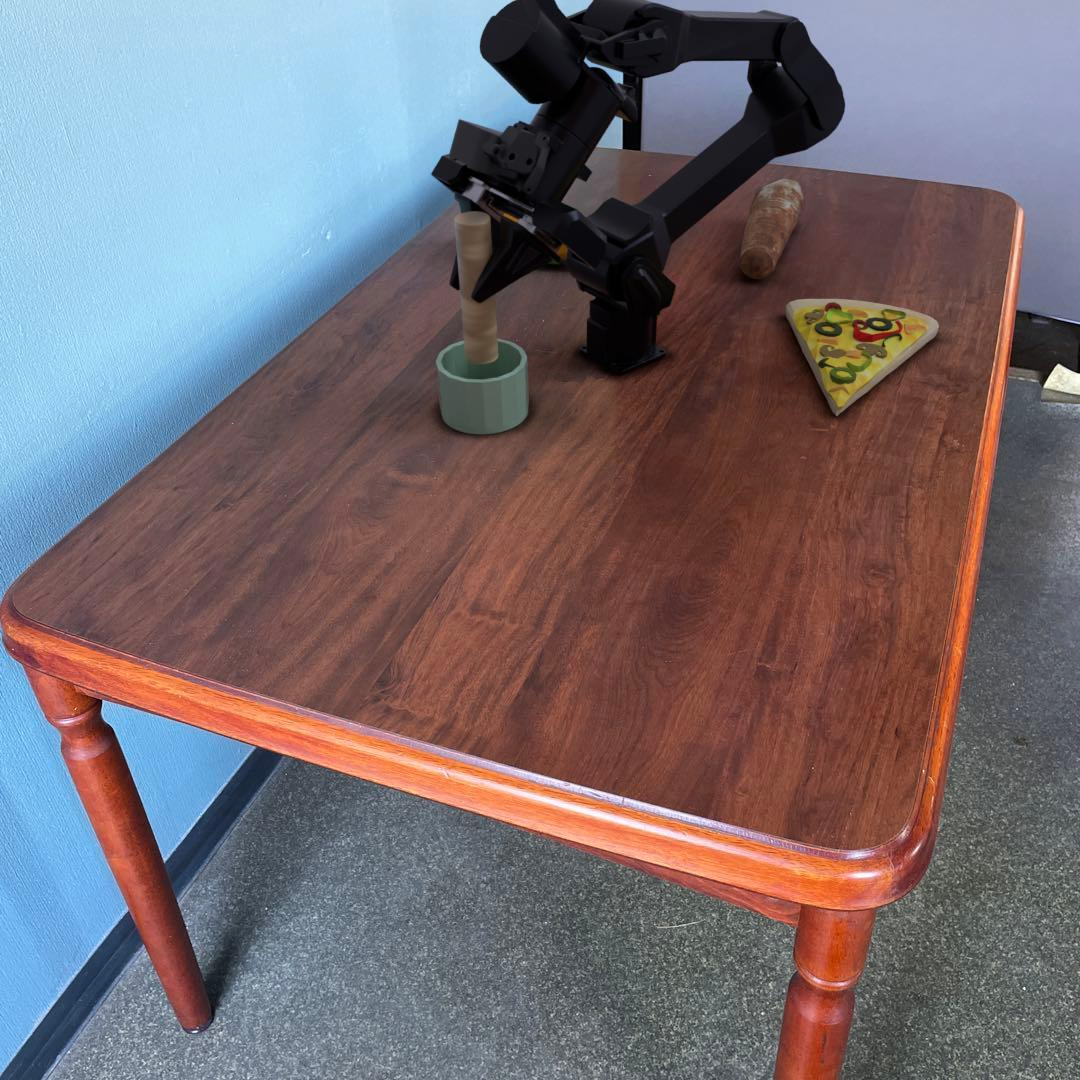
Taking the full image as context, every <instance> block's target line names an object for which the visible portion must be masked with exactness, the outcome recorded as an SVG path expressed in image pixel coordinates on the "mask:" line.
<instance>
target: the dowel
mask: <svg viewBox="0 0 1080 1080" xmlns="http://www.w3.org/2000/svg"><path fill="white" fill-rule="evenodd" d="M453 222H454V234H455V245H456V246H455V247H456V253H457V260H458V272H459V285H460V290H459V295H460V297H459V298H460V308H461V320H462V332H463V340H464V347H465V358H466V360H467V361H468V362H470V363H473V364H488V363H491V362H493V361H495V360H496V359H497V358H498V341H497V338H498V326H497V325H498V324H497V311H496V310H497V308H496V294H495V295H493V296H492V297H490V298H488V299H487V300H485V301H484V302H482V303H477V302H476V301H474V300H473V299H472V298H471V294H472V292H473V290H474V287H475V285H476V283H477V281H478V279H479V277H480V275H481V273H482V272H483V270H484V268H485V266H486V264H487V263H488V261H489V259H490V257H491V255H492V239H491V222H490V216H489V215H488V214H486V213H484V212H478V211H470V212H464V213H461V212H460V213H459V214H457V215H455V217H454V219H453Z"/></svg>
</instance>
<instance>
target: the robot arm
mask: <svg viewBox="0 0 1080 1080" xmlns="http://www.w3.org/2000/svg"><path fill="white" fill-rule="evenodd" d="M479 53H480V55H481V57H482V59H483V60H484V61H485V62H486V63H487V64H488V65H489V66H490V67H491V68H493V70H495V71H496V73H497V74H498V75H500V76H501V78H502V79H504V80H505V82H507V84H508V85H510V87H512V89H514V91H516V93H517V94H519V95H520V96H521V97H522V98H523V99H524V100H525V102H527V103H528V104H531V105H540V107H539V108H538V110H537V111H536V112H535V115H534V116H533V118H532V119H531V121H530V122H529V123H527V122H524V121H522V120H518V121H517V122H515V123H514V124H513V125H507V127H506V128H505V129H504V130H503V131H499V130H496V129H494V128H490V127H488V126H484V125H481V124H477V123H474V122H470V121H467V120H464V119H461V118H459V119H458V120H457V124H456V127H455V132H454V135H453V139H452V142H451V145H450V149H449V153H447V154H443V155H441V157H440V158H439V160H438V161H437V162H436V164H435V166H434V167H433V170H432V171H431V173H430V175H431V176H432V177H433V178H434V179H435V180H437V181H438V182H439V183H440V184H441V185H443V186H444V187H445V188H447V190H449V191H450V192H451V193H452V194H453V198H454V201H456V202H457V203H458V206H459V211H460V214H461V213H464V212H470V211H478V212H484V213H486V214H488V215H489V216H490V222H491V239H492V255H491V257H490V259H489V261H488V263H487V264H486V266H485V268H484V270H483V272H482V273H481V275H480V277H479V279H478V281H477V283H476V285H475V287H474V290H473V292H472V294H471V298H472V299H473V300H474V301H476V302H477V303H482V302H484V301H485V300H487V299H488V298H490V297H492V296H493V295H495V296H496V295H497V294H498V293H500V292H501V291H502V290H504V289H506V288H507V287H509V286H510V285H512V284H514V283H515V282H517V281H519V280H520V279H522V278H523V277H525V276H527V275H529V274H531V273H533V272H534V271H537V270H538V269H540V268H542V267H544V266H546V265H547V264H548V263H549V262H551V261H555V262H557V263H559V262H560V261H561V260H562V259H561V257H560V256H559V255H557V252H558V250H559V249H560V247H561V246H562V244H564V245H565V246H566V247H567V248H568V251H567V258H566V259H565V262H566V268H567V271H568V272H569V274H570V276H571V277H572V278H573V279H575V282H576V285H577V288H578V290H579V291H581V292H583V293H587V294H588V295H590V296H592V297H594V299H591V300H589V317H587V319H586V344H583V345H580V346H579V350H578V351H579V353H580V354H581V355H583V356H585V357H587V358H589V360H591V361H593V362H595V363H597V364H598V365H600V366H602V367H603V368H605V369H607V370H608V371H610V372H612V373H614V374H615V375H618V376H619V375H620V376H622V375H624V374H627V373H629V372H632V371H634V370H636V369H639V368H641V367H644V366H647V365H649V364H651V363H653V362H655V361H658V360H660V359H662V358H665V357H666V356H667V350H666V349H664V348H662V347H660V346H659V345H657V332H658V331H657V329H658V316H660V314H661V312H662V311H663V310H665V309H666V308H669V307H670V306H671V305H672V302H673V298H674V295H675V291H676V288H677V285H676V284H675V283H674V282H673V281H672V280H671V279H670V278H669V277H668V276H667V275H666V274H665V273H664V272H663V271H664V270H665V268H666V265H667V261H668V257H669V254H670V251H671V249H672V248H671V247H672V245H673V244H674V243H675V242H676V241H677V240H678V239H679V238H681V237H682V236H683V235H684V234H686V233H687V232H688V231H689V230H690V229H692V228H693V227H694V226H695V225H696V224H697V223H699V222H700V221H701V220H702V219H703V218H704V217H706V216H707V215H708V214H709V213H711V211H713V210H714V209H715V208H717V206H719V205H720V204H721V203H722V202H724V201H725V200H726V199H727V198H728V197H729V196H731V195H732V194H734V192H736V190H738V189H740V187H742V186H743V185H744V184H745V183H746V182H747V181H748V180H750V179H751V178H752V177H754V176H755V175H756V174H757V173H758V172H760V171H761V170H762V169H763V168H765V166H766V165H768V164H769V163H770V162H772V161H773V160H774V159H776V158H781V157H785V156H789V155H792V154H793V155H794V154H797V153H802V152H804V151H807V150H809V149H810V148H812V147H814V146H816V145H817V144H819V143H821V142H822V141H824V140H826V139H827V138H829V137H830V136H831V135H832V134H833V133H834V132H835V131H836V130H837V128H838V127H839V125H840V123H841V122H842V121H843V117H844V115H845V111H846V99H845V97H844V91H843V86H842V85H841V83H840V82H839V80H838V76H837V74H836V72H835V71H836V70H835V69H834V68H833V66H831V64H830V63H829V61H828V60H827V59H826V58H825V56H824V55H823V54H822V53H821V52H820V51H819V49H818V48H817V47H816V46H815V44H814V43H813V42H812V41H811V38H810V35H809V31H808V29H807V27H806V25H805V24H804V22H802V21H801V20H800V19H799V17H796V16H793V15H789V14H784V13H780V12H776V11H772V10H768V9H762V10H759V11H756V12H753V11H749V12H748V11H746V12H745V11H720V10H719V11H718V10H717V11H716V10H715V11H714V10H688V9H687V10H686V9H685V10H684V9H677V8H675V7H671V6H668V5H665V4H662V3H658V2H654V1H651V0H592V1H591V3H589V5H588V6H587V8H585V9H582V10H580V11H577V12H575V13H572V14H570V15H568V16H566V15H565V13H564V12H562V10H561V9H560V8H559V6H558V4H557V2H556V0H512V1H510V2H509V3H507V4H506V5H505V6H503V7H502V8H501V9H500V10H499V11H498V12H496V14H494V15H492V16H490V18H489V20H488V21H487V22H486V24H485V27H484V29H483V30H482V32H481V36H480V39H479ZM585 60H586V61H588V62H590V63H591V64H594V65H597V66H589V65H588V63H586V61H585ZM690 62H748V67H747V74H746V81H747V82H748V85H749V87H750V90H751V92H750V94H748V97H747V100H746V103H745V107H744V110H743V114H742V117H741V119H739V121H738V122H736V123H735V124H734V125H733V126H731V127H730V128H729V129H728V130H727V131H725V132H724V133H723V134H721V135H720V136H719V137H718V138H716V139H715V140H714V141H713V142H711V144H710V145H708V146H707V147H706V148H704V149H703V150H702V151H701V152H699V153H698V154H697V155H696V156H695V157H693V158H692V159H691V160H690V161H689V162H688V163H686V164H685V165H684V166H683V167H681V168H680V169H679V170H678V171H677V172H675V173H674V174H673V175H672V176H671V177H669V178H668V179H667V180H666V181H664V182H663V183H662V184H660V185H659V186H658V187H656V189H654V190H653V191H651V193H650V194H648V195H647V196H646V197H645V198H643V199H642V200H641V201H640V202H637V203H635V204H629V203H628V202H626V201H623V200H622V199H621V200H620V199H619V198H616V197H614V196H612V197H611V196H610V198H608V199H606V200H605V201H603V202H602V203H601V204H600V205H599V206H598V207H597V209H596V210H595V211H593V212H592V213H591V214H589V215H587V216H585V215H584V214H583V213H582V212H581V211H579V209H578V208H576V207H573V206H571V205H569V204H567V203H565V202H563V200H564V199H565V197H566V196H567V195H568V192H569V191H570V189H571V188H572V186H573V184H574V183H575V181H576V180H577V179H578V180H579V181H582V182H585V183H587V182H588V180H589V179H590V177H591V175H592V174H593V171H592V170H591V169H590V168H589V167H588V165H586V164H587V162H588V160H589V159H590V158H591V156H592V154H593V153H594V151H595V150H596V148H597V146H598V145H599V143H600V142H601V140H602V138H603V136H604V135H605V133H606V132H607V131H608V129H609V127H610V126H611V124H612V122H614V119H615V118H619V119H622V120H625V121H626V122H630V123H636V121H637V120H638V107H637V104H636V100H635V94H636V90H635V88H634V87H633V86H630V85H627V84H624V83H621V82H616V81H615V80H614V79H613V78H612V76H611V75H610V74H609V73H608V72H607V71H606V70H605V69H603V68H607V69H610V70H613V71H616V72H619V73H621V74H626V75H629V76H632V77H635V78H638V79H649V78H653V77H656V76H660V75H664V74H669V73H672V72H674V71H675V70H676V69H677V68H679V67H680V66H681V65H682V64H687V63H690ZM778 63H779V64H780V65H779V64H778ZM598 66H600V67H598ZM601 67H603V68H601ZM510 203H511V204H510ZM564 203H565V204H564ZM566 204H567V205H566ZM504 213H506V214H508V215H510V216H512V217H514V218H516V219H518V222H515V221H513V220H511V219H509V218H507V217H505V216H503V215H504ZM548 265H549V264H548ZM451 269H452V270H451V274H450V278H449V282H448V283H449V286H450V287H451V288H453V289H454V290H455V291H460V285H459V272H458V260H457V252H456V254H455V258H454V261H453V266H452V268H451Z"/></svg>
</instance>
